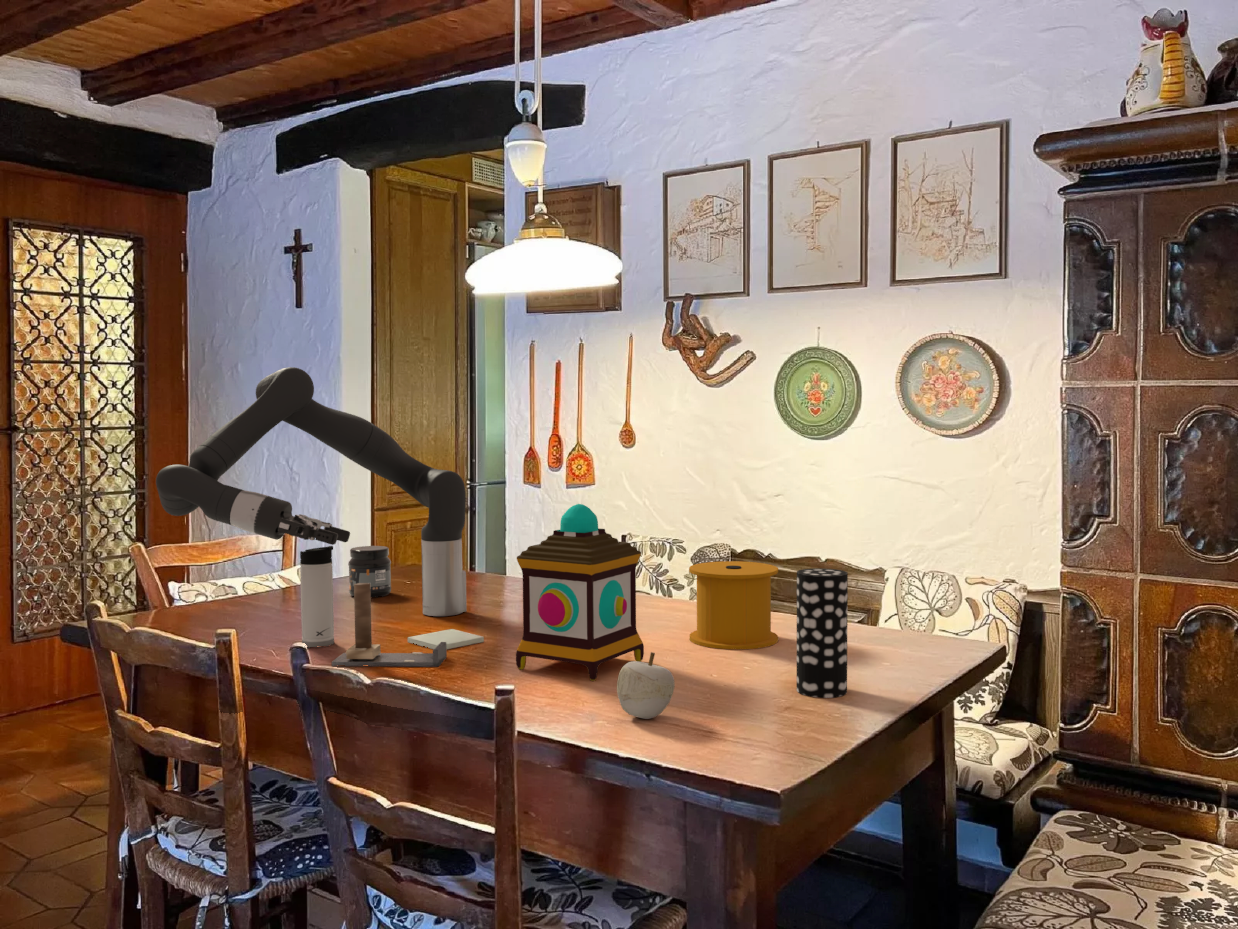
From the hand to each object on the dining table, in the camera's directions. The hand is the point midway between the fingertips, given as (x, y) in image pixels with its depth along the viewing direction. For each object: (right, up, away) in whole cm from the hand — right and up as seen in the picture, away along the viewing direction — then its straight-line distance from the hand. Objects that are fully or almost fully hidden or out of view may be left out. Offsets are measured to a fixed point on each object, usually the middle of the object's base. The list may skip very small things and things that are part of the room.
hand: (342, 538), depth 199 cm
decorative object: (+57, -25, -38) cm, 72 cm away
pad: (+17, -22, +15) cm, 32 cm away
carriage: (+4, -22, -1) cm, 22 cm away
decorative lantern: (+45, -23, -5) cm, 51 cm away
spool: (+76, -22, +15) cm, 80 cm away
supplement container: (-11, -19, +69) cm, 72 cm away
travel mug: (-8, -23, +13) cm, 28 cm away
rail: (+9, -23, -1) cm, 25 cm away
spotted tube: (+86, -24, -24) cm, 93 cm away
